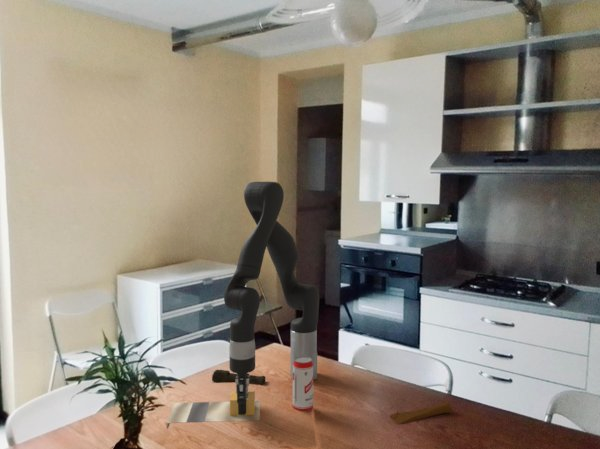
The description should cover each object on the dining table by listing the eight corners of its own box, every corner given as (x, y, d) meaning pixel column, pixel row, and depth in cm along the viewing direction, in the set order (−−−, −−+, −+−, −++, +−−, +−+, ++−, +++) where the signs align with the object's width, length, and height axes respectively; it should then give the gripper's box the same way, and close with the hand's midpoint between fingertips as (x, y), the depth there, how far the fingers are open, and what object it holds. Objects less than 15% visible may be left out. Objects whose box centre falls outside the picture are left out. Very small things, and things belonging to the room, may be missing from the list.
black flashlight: (266, 385, 162) (266, 372, 161) (262, 390, 158) (262, 376, 157) (215, 379, 167) (215, 366, 166) (210, 383, 163) (210, 370, 162)
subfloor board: (260, 405, 147) (260, 400, 147) (259, 425, 135) (259, 420, 135) (175, 407, 145) (174, 402, 145) (166, 427, 133) (166, 422, 133)
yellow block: (254, 405, 143) (254, 390, 143) (254, 414, 138) (254, 399, 137) (231, 406, 143) (231, 391, 142) (230, 415, 137) (230, 399, 137)
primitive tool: (397, 426, 135) (397, 414, 135) (388, 417, 141) (388, 405, 140) (454, 415, 142) (454, 404, 141) (442, 407, 147) (443, 396, 147)
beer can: (316, 408, 145) (316, 357, 144) (308, 417, 139) (308, 364, 138) (297, 404, 148) (298, 354, 146) (289, 412, 142) (289, 361, 141)
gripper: (254, 362, 132) (254, 420, 133) (255, 345, 146) (256, 397, 148) (227, 363, 131) (227, 421, 133) (231, 345, 146) (231, 398, 147)
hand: (242, 408), depth 140 cm, fingers closed on yellow block, 5 cm apart
